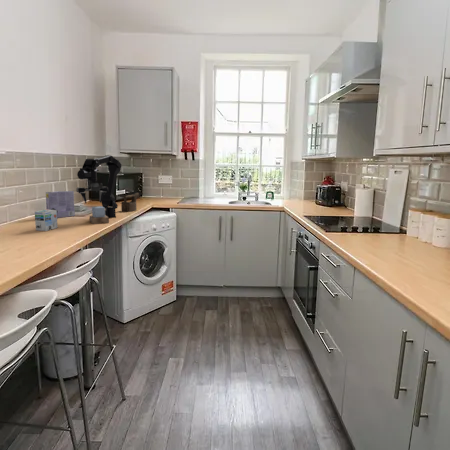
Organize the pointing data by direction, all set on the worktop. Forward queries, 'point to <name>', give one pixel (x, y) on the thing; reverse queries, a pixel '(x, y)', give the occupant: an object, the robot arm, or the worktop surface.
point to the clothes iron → (129, 203)
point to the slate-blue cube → (98, 211)
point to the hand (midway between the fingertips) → (93, 202)
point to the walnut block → (99, 220)
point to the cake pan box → (61, 203)
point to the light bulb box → (46, 220)
